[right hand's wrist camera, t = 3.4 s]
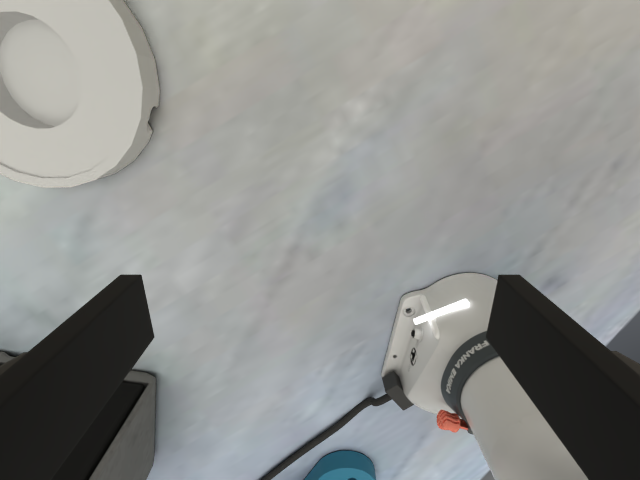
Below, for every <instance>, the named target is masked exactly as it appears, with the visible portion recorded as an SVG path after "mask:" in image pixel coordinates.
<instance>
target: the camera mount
mask: <svg viewBox="0 0 640 480" xmlns="http://www.w3.org/2000/svg"><path fill="white" fill-rule="evenodd" d="M304 480H376V476H375V470H374V465H373V463H372V462H371V460H370V459H369V458H368V457H366V456H365V455H363V454H361V453H358V452H354V451H337V452H333V453H330V454H328V455H326V456H325V457H323V458H322V459H321V460H320V461H319V462H318V463H317V464H316V466H315V467H314V468H313V469H312V470H311V472H310V473H309V474H308V475H307V477H306V478H305V479H304Z"/></svg>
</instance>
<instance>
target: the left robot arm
mask: <svg viewBox="0 0 640 480" xmlns="http://www.w3.org/2000/svg"><path fill="white" fill-rule="evenodd" d="M496 285H497V280H496V279H494V278H492V277H490V276H487V275H484V274H478V273H461V274H456V275H452V276H449V277H446V278H444V279H441V280H440V281H438V282H436V283H434V284H433V285H431V286H429V287H428V288H426V289H423V290H418V291H414V292H410V293H407V294H405V295H404V296H403V297H402V298H401V300H400V304H399V307H398V311H397V315H396V319H395V323H394V326H393V330H392V334H391V338H390V342H389V345H388V349H387V353H386V357H385V361H384V365H383V368H382V373H381V376H382V379H383V383H384V388H385V392H386V393H387V394H385V395H383V396H381V397H379V398H377V399H375V398H368V399H366V400H364V401H363V402H361V403H360V404H358V405H357V406H356V407H355V408H354V409H352V410H351V411H350V412H349V413H348V414H347V415H346V416H345V417H343V418H342V419H341V420H340V421H339V422H337V423H336V424H335V425H333V426H332V427H331V428H329V429H328V430H326V431H325V432H324V433H322V434H321V435H319V436H318V437H317V438H315V439H314V440H312V441H311V442H309V443H308V444H307V445H305V446H304V447H303V448H301V449H300V450H298V451H297V452H296V453H294V454H293V455H292V456H290V457H289V458H288V459H286V460H285V461H284V462H283V463H281V464H280V465H279V466H277V467H276V468H275V469H274V470H272V471H271V472H270V473H269V474H267V475H266V476H265V477H264V478H262V479H261V480H271V479H272V478H273V477H275V476H276V475H277V474H278V473H280V472H281V471H282V470H284V469H285V468H286V467H288V466H289V465H290V464H292V463H293V462H294V461H296V460H297V459H298V458H300V457H301V456H302V455H304V454H305V453H307V452H308V451H309V450H311V449H312V448H314V447H315V446H316V445H318V444H319V443H321V442H322V441H324V440H325V439H327V438H328V437H329V436H331V435H332V434H334V433H335V432H336V431H338V430H339V429H340V428H342V427H343V426H344V425H345V424H346V423H348V422H349V421H350V420H351V419H352V418H353V417H354V416H355V415H357V414H358V413H359V412H360V411H361V410H363V409H364V408H366V407H367V406H369V405H373V406H379V405H382V404H384V403H386V402H388V401H389V400H391V399H393V400H394V401H395V402H396V403H397V404H398V405H399V407H400V408H401V409H402V410H405V409H407V408H409V407H410V406H412V405H416V406H417V407H419V408H421V409H423V410H425V411H428V412H431V413H434V414H437V425H438V426H439V428H441V429H443V430H451V431H452V432H457V431H458V430H459V428H462V429H465V430H467V431H468V433H470V434H473V435H474V436H475V438H476V440H477V443H478V445H479V447H480V449H481V451H482V453H483V455H484V457H485V460H486V462H487V464H488V466H489V468H490V470H491V472H492V474H493V477H494V479H495V480H588V478H587V477H586V475H585V474H584V473H583V471H582V470H581V468H580V467H579V466H578V464H577V463H576V462H575V460H574V459H573V457H572V456H571V455H570V453H569V452H568V451H567V449H566V448H565V446H564V445H563V444H562V442H561V441H560V439H559V438H558V437H557V435H556V434H555V433H554V431H553V430H552V428H551V427H550V426H549V424H548V423H547V421H546V420H545V419H544V417H543V416H542V415H541V413H540V412H539V410H538V409H537V408H536V406H535V405H534V403H533V402H532V401H531V399H530V398H529V397H528V395H527V394H526V392H525V391H524V390H523V388H522V387H521V385H520V384H519V383H518V381H517V380H516V379H515V377H514V376H513V374H512V373H511V372H510V370H509V369H508V367H507V366H506V365H505V363H504V362H503V361H502V359H501V358H500V356H499V355H498V354H497V352H496V351H495V350H494V348H493V347H492V345H491V344H490V343H489V341H488V340H487V338H486V333H487V328H488V323H489V319H490V314H491V309H492V304H493V299H494V295H495V290H496ZM407 308H410V310H408V311H406V309H407Z"/></svg>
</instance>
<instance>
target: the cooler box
mask: <svg viewBox="0 0 640 480" xmlns="http://www.w3.org/2000/svg"><path fill="white" fill-rule="evenodd" d="M13 358H15V357H11V356H9V355H8V354H6V353H5V352H1V351H0V366H1V365H2V364H4V363H6V362H8V361H9V360H11V359H13ZM155 402H156V378H155V377H154V376H152V375H150V374H148V373H146V372H139V371H132V370H131V371H130V372H129V373H128V374H127V376H126V377H125V379H124V380H123V381H122V383H121V384H120V385H119V387H118V388H117V390H116V391H115V392H114V394H113V395H112V397H111V398H110V399H109V401H108V402H107V403H106V405H105V406H104V408H103V409H102V410H101V412H100V413H99V415H98V416H97V417H96V419H95V420H94V421H93V423H92V424H91V426H90V427H89V428H88V430H87V431H86V433H85V434H84V435H83V437H82V438H81V439H80V441H79V442H78V444H77V445H76V446H75V448H74V449H73V451H72V452H71V453H70V455H69V456H68V457H67V459H66V460H65V462H64V463H63V464H62V466H61V467H60V468H59V470H58V471H57V473H56V474H55V475H54V477H53V478H52V480H146V479H147V477H148V475H149V472H150V470H151V468H152V466H153V461H154V449H155Z"/></svg>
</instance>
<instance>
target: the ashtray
mask: <svg viewBox="0 0 640 480" xmlns="http://www.w3.org/2000/svg"><path fill="white" fill-rule="evenodd" d="M159 96H160V87H159V81H158V75H157V69H156V63H155V58H154V56H153V53H152V51H151V48H150V46H149V43H148V41H147V39H146V36H145V34H144V31H143V29H142V27H141V26H140V24H139V23H138V21H137V20H136V18H135V17H134V15H133V14H132V12H131V11H130V9H129V8H128V6H127V5H126V3H125V2H124V0H0V174H1V175H3V176H6V177H8V178H10V179H12V180H14V181H17V182H21V183H26V184H30V185H34V186H39V187H43V188H60V187H74V186H77V185H80V184H84V183H87V182H90V181H94V180H97V179H100V178H103V177H106V176H109V175H112V174H116V173H117V172H119V171H120V170H121V169H123V168H124V167H126V166H127V165H129V164H130V163H132V162H133V161H135V159H136V158H137V157H138V155H139V154H140V153H141V151H142V150H143V149H144V148H145V146H146V145H147V144H148V142H149V140H150V138H151V135H152V132H153V131H152V129H151V127H150V125H149V124H148V120H149V117H150V113H151V110H152V108H153V107H154V106H155V107H156V108H157V107H158V106H159Z"/></svg>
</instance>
